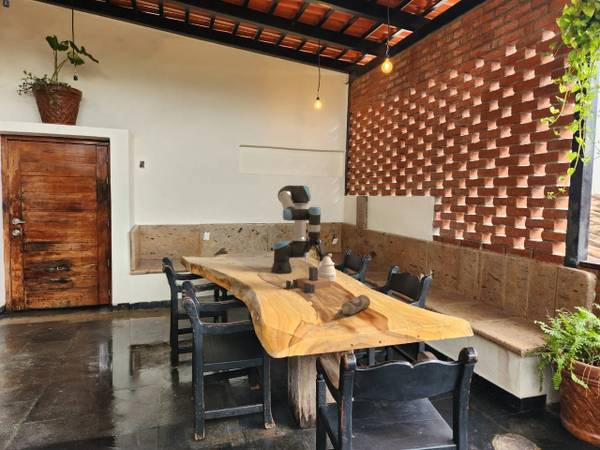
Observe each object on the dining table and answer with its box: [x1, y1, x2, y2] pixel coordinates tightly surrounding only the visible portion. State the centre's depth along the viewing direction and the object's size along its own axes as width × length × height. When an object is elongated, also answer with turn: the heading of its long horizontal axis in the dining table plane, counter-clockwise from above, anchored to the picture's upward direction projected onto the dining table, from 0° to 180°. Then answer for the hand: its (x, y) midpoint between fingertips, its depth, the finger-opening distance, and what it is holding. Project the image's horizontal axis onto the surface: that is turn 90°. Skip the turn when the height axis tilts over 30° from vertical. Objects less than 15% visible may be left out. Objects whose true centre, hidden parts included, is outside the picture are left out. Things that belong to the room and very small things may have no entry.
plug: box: [308, 266, 319, 281], centre depth 240 cm, size 4×4×12 cm
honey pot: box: [318, 253, 337, 283], centre depth 258 cm, size 13×13×18 cm
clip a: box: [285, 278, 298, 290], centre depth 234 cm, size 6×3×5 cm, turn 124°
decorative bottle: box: [337, 294, 371, 316], centre depth 187 cm, size 8×26×7 cm, turn 142°
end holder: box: [295, 276, 332, 290], centre depth 241 cm, size 16×16×4 cm
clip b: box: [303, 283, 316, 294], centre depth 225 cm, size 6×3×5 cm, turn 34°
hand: (313, 264), depth 240 cm, fingers open, 13 cm apart
